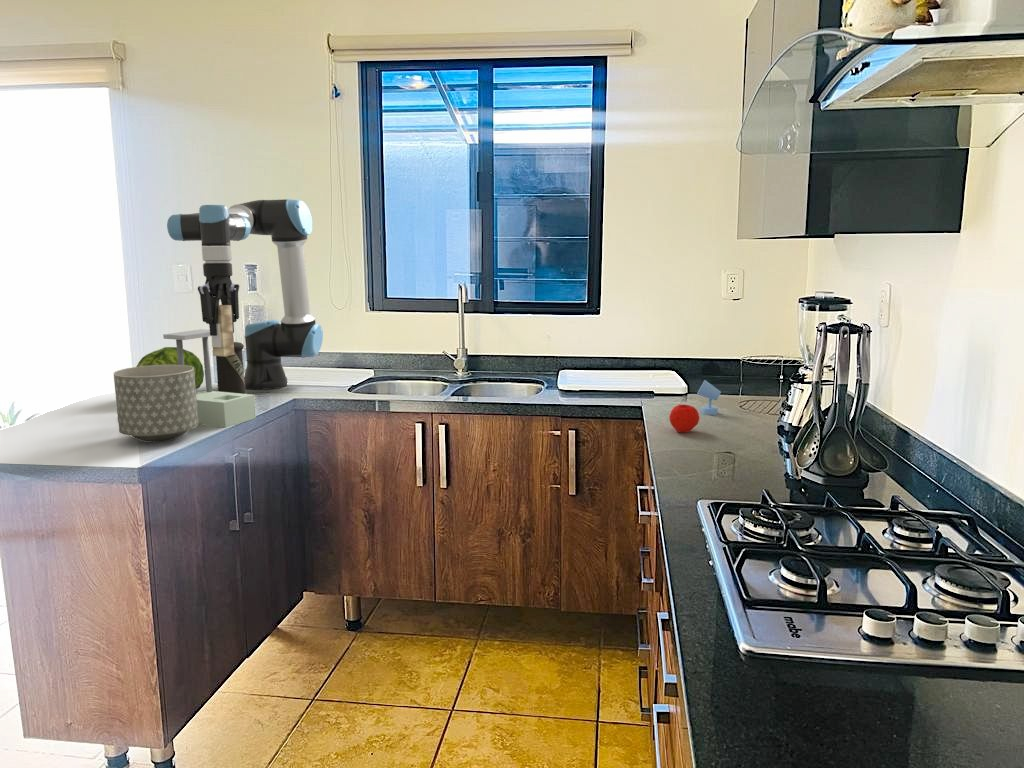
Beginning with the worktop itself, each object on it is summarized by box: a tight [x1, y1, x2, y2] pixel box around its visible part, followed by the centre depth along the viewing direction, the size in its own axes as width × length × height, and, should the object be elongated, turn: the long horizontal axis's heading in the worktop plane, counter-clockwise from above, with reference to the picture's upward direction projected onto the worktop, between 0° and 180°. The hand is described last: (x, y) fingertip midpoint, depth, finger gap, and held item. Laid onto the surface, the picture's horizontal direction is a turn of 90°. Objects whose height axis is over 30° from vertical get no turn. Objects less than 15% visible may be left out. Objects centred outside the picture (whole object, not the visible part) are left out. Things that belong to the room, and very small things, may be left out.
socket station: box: [162, 328, 257, 428], centre depth 224 cm, size 20×14×25 cm
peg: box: [212, 304, 235, 357], centre depth 219 cm, size 4×4×14 cm
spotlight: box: [696, 379, 722, 416], centre depth 230 cm, size 5×10×7 cm
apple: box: [668, 404, 700, 434], centre depth 208 cm, size 8×8×7 cm
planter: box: [113, 365, 199, 443], centre depth 203 cm, size 19×19×18 cm
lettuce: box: [135, 346, 205, 390], centre depth 251 cm, size 18×23×19 cm
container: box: [215, 341, 247, 394], centre depth 244 cm, size 9×9×20 cm
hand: (223, 345), depth 220 cm, fingers closed on peg, 4 cm apart
